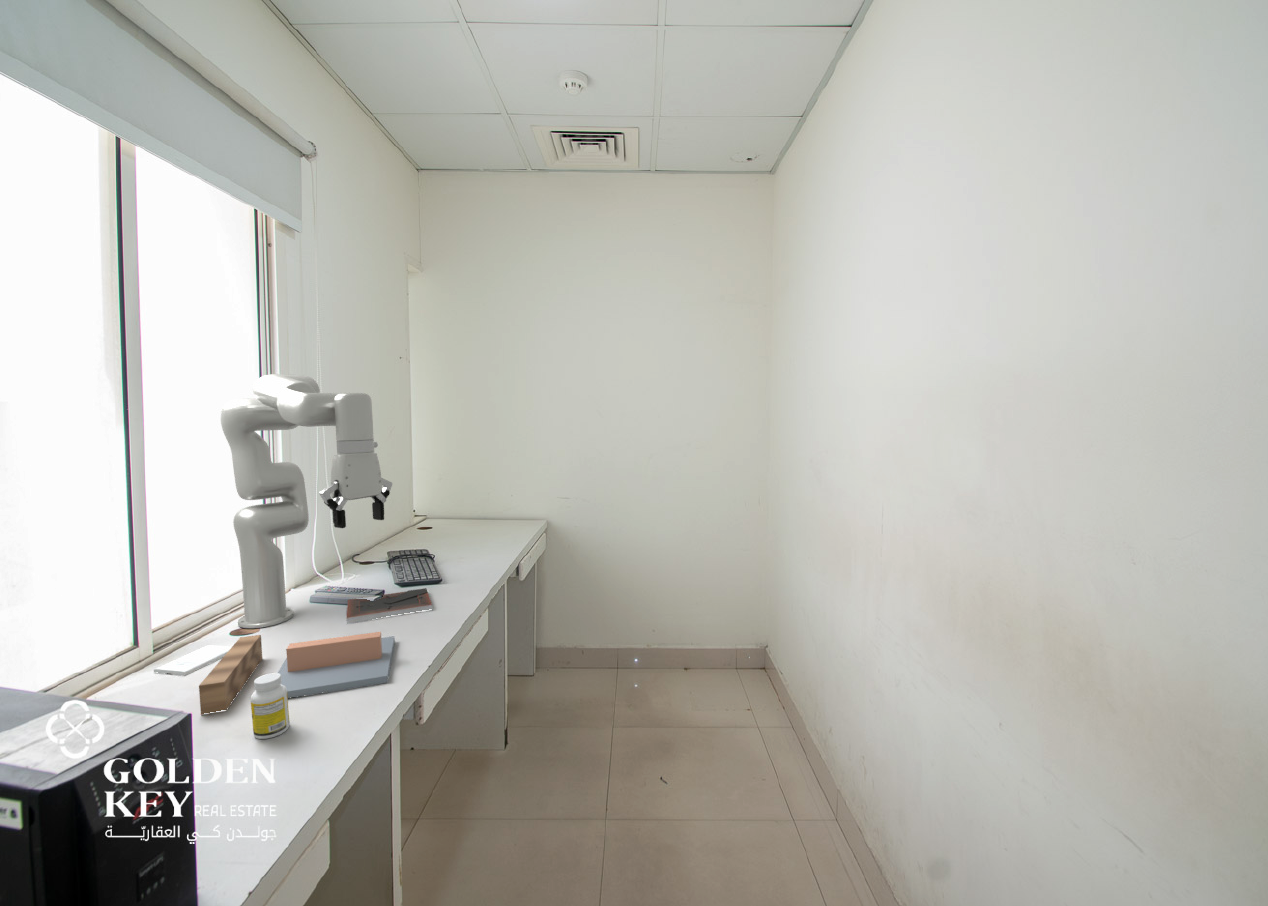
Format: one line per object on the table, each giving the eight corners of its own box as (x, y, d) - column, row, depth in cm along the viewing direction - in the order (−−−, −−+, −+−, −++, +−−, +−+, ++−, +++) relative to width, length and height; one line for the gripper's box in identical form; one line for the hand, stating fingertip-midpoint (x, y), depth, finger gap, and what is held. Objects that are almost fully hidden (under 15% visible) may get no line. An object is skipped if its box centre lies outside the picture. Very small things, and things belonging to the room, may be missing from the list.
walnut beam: (242, 663, 128) (240, 637, 128) (262, 660, 129) (260, 634, 129) (201, 716, 105) (198, 685, 105) (226, 712, 107) (224, 682, 106)
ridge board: (291, 656, 130) (289, 629, 130) (394, 642, 138) (393, 616, 137) (264, 702, 110) (262, 670, 109) (387, 682, 117) (386, 652, 116)
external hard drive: (235, 653, 134) (184, 678, 122) (207, 651, 135) (153, 675, 123) (235, 647, 134) (184, 671, 121) (206, 644, 135) (153, 668, 123)
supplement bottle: (264, 723, 102) (260, 671, 101) (295, 722, 103) (292, 669, 102) (246, 741, 97) (242, 686, 96) (279, 739, 97) (275, 684, 96)
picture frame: (426, 595, 174) (348, 607, 165) (426, 587, 174) (347, 598, 165) (432, 612, 159) (346, 626, 150) (432, 604, 159) (346, 617, 150)
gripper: (378, 445, 136) (382, 515, 137) (307, 450, 121) (312, 529, 122) (399, 446, 133) (403, 518, 134) (329, 451, 117) (334, 532, 119)
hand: (360, 523), depth 128 cm, fingers open, 9 cm apart
